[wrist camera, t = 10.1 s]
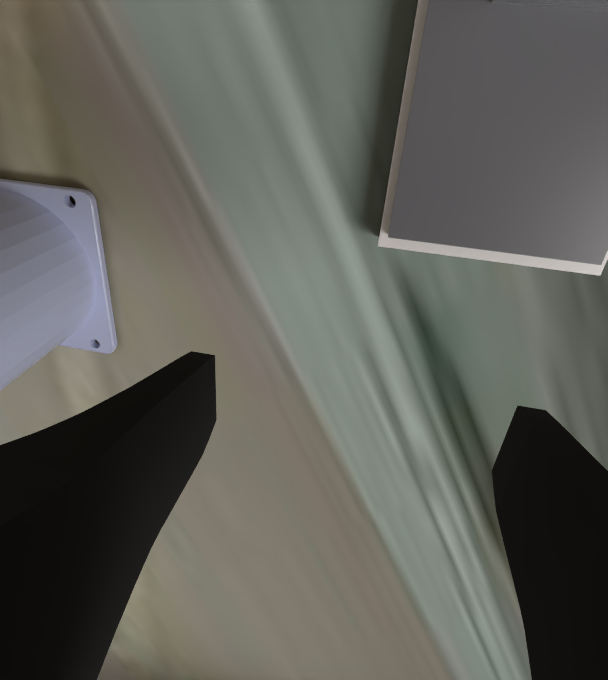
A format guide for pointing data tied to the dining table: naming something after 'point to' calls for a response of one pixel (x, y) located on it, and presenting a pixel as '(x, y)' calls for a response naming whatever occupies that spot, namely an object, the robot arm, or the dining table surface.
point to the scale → (503, 137)
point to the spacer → (561, 4)
